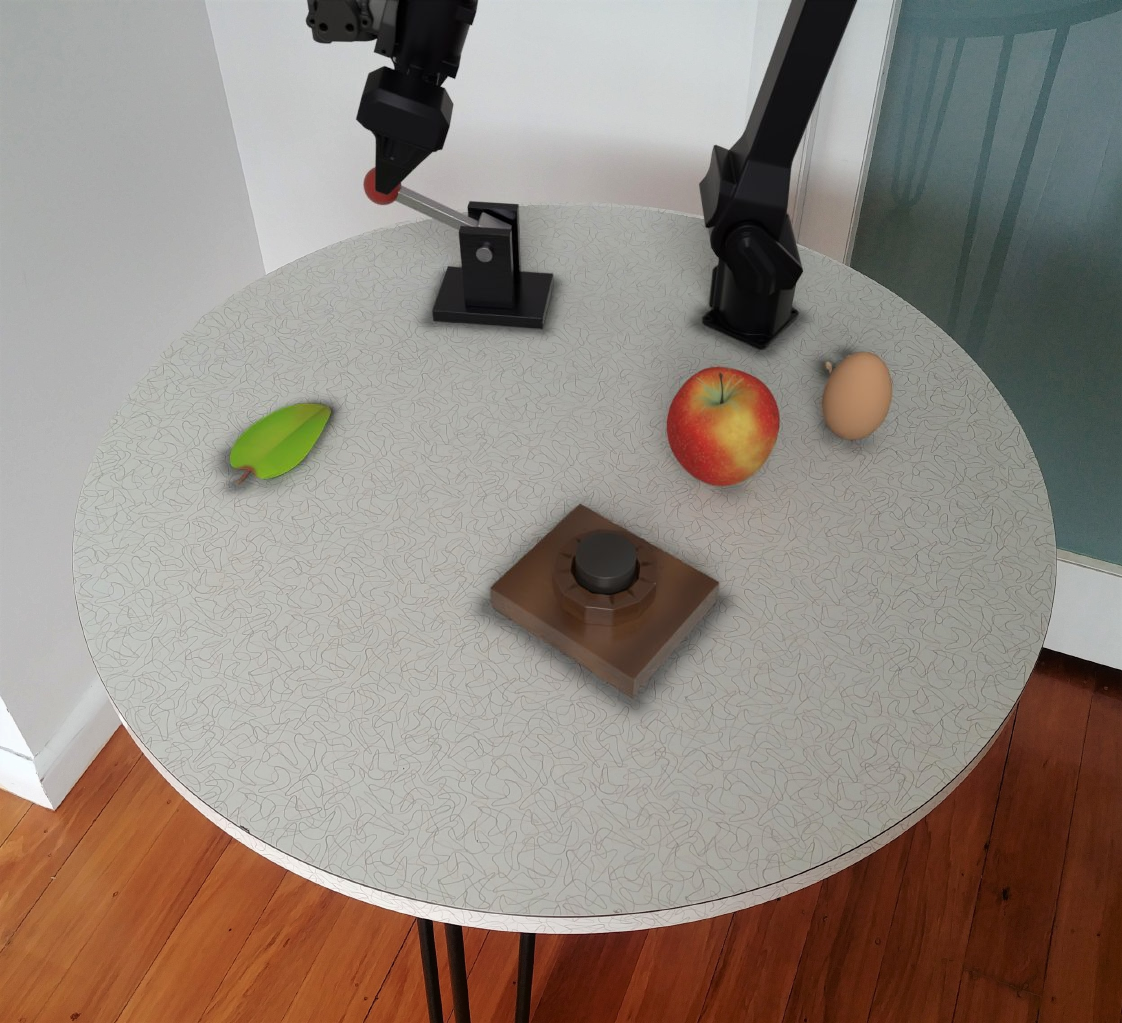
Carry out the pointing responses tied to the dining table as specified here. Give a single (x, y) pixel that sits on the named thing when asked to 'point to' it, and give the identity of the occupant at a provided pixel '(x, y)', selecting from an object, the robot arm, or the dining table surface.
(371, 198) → the switch
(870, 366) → the egg
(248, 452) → the decorative leaf
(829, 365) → the nutmeg
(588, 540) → the button
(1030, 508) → the dining table surface
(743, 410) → the apple
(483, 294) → the bracket
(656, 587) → the button block
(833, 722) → the dining table surface
